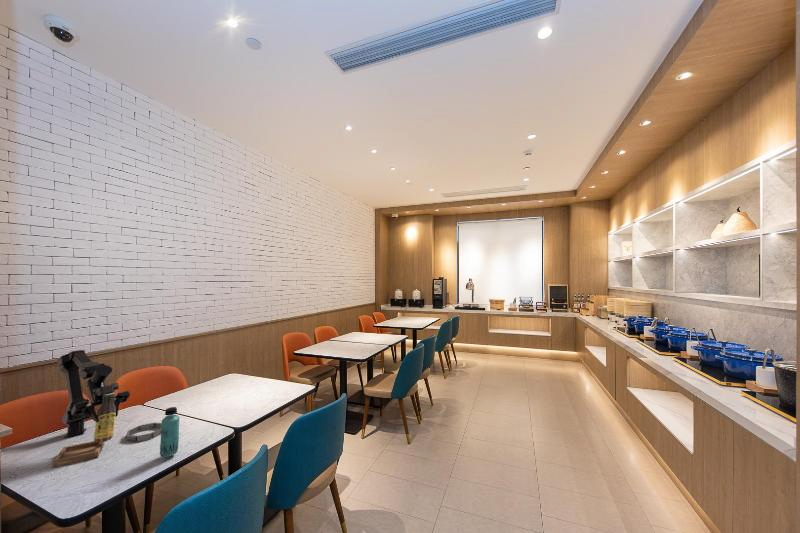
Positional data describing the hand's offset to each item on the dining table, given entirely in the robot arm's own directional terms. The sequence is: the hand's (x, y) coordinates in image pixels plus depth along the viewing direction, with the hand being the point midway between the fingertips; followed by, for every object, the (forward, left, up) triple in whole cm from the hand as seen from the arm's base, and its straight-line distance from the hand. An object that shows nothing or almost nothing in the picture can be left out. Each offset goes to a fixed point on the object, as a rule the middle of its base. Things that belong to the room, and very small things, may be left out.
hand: (107, 418), depth 138 cm
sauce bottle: (-1, -1, -9) cm, 10 cm away
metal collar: (-8, +13, -13) cm, 20 cm away
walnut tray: (0, -8, -13) cm, 16 cm away
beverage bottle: (+22, +23, -13) cm, 34 cm away
